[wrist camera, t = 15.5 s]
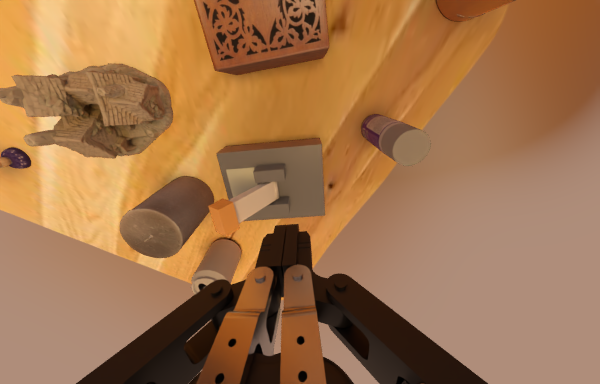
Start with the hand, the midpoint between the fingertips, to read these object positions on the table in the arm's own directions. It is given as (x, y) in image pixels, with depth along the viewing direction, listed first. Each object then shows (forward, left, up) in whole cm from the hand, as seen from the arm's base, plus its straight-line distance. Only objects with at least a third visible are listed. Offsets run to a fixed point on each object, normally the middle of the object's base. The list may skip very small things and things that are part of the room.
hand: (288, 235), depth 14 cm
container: (-1, +14, -29) cm, 32 cm away
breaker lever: (+7, -5, -23) cm, 25 cm away
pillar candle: (+10, -24, -29) cm, 39 cm away
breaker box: (+7, -5, -29) cm, 30 cm away
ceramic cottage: (-7, -30, -29) cm, 43 cm away
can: (+25, -20, -29) cm, 43 cm away
